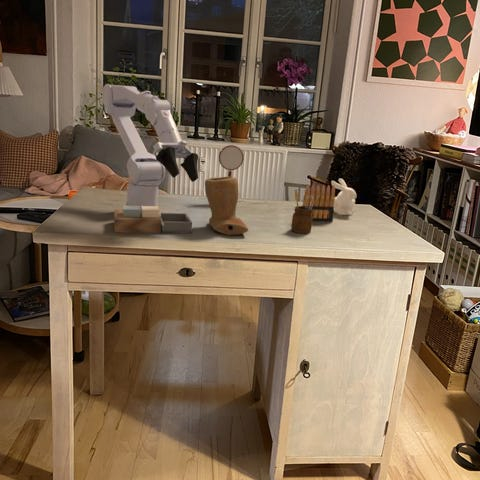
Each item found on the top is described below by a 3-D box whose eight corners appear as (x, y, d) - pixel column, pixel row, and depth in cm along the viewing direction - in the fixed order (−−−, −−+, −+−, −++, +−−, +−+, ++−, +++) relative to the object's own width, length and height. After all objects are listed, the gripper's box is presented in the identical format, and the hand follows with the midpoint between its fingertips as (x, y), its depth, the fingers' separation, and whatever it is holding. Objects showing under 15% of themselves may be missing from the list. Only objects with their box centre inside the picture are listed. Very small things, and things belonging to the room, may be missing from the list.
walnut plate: (114, 232, 132) (114, 219, 131) (114, 222, 141) (114, 209, 140) (160, 232, 135) (161, 220, 134) (157, 222, 144) (157, 211, 143)
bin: (161, 232, 135) (162, 222, 134) (158, 222, 144) (158, 212, 144) (191, 233, 137) (192, 222, 136) (186, 223, 146) (186, 213, 146)
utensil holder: (305, 235, 146) (311, 194, 142) (286, 230, 149) (291, 190, 145) (314, 231, 150) (319, 191, 147) (295, 227, 153) (299, 188, 150)
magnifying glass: (239, 202, 181) (244, 145, 175) (239, 203, 179) (244, 146, 173) (215, 200, 179) (219, 144, 174) (215, 201, 178) (219, 144, 172)
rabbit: (354, 217, 173) (359, 183, 170) (327, 214, 174) (331, 179, 171) (352, 210, 184) (357, 177, 181) (326, 207, 186) (331, 174, 182)
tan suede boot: (200, 221, 150) (203, 171, 146) (239, 223, 152) (244, 173, 148) (205, 235, 136) (208, 180, 132) (248, 237, 138) (253, 183, 134)
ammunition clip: (330, 220, 165) (335, 184, 162) (332, 222, 164) (337, 185, 160) (299, 219, 163) (304, 183, 159) (301, 221, 161) (306, 184, 158)
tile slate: (122, 216, 134) (123, 209, 134) (122, 212, 138) (122, 205, 138) (140, 217, 135) (140, 209, 135) (139, 212, 139) (139, 205, 139)
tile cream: (142, 217, 135) (142, 209, 135) (141, 213, 140) (141, 205, 139) (159, 217, 137) (159, 210, 136) (157, 213, 141) (157, 206, 140)
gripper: (159, 121, 131) (177, 164, 127) (196, 133, 143) (213, 173, 139) (142, 137, 135) (159, 179, 130) (179, 148, 146) (195, 187, 142)
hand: (185, 177), depth 135 cm, fingers open, 7 cm apart
